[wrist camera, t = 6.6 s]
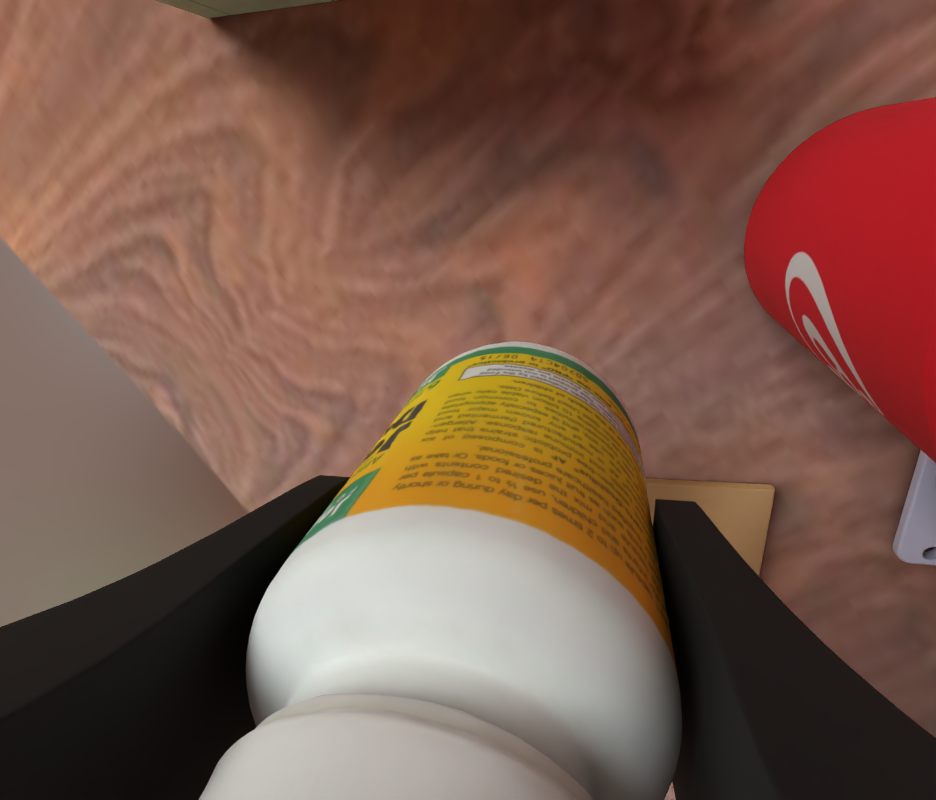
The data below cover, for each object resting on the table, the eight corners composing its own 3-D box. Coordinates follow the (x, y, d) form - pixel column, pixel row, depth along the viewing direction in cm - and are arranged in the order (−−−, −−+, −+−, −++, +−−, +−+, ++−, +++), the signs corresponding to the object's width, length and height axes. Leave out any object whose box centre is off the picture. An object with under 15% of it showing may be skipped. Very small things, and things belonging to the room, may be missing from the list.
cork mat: (772, 484, 19) (775, 490, 19) (735, 688, 23) (737, 697, 23) (463, 468, 22) (461, 473, 21) (477, 656, 26) (476, 663, 25)
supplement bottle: (592, 568, 14) (587, 1252, 5) (390, 500, 14) (78, 1026, 6) (680, 376, 11) (935, 1050, 3) (433, 302, 12) (14, 690, 3)
